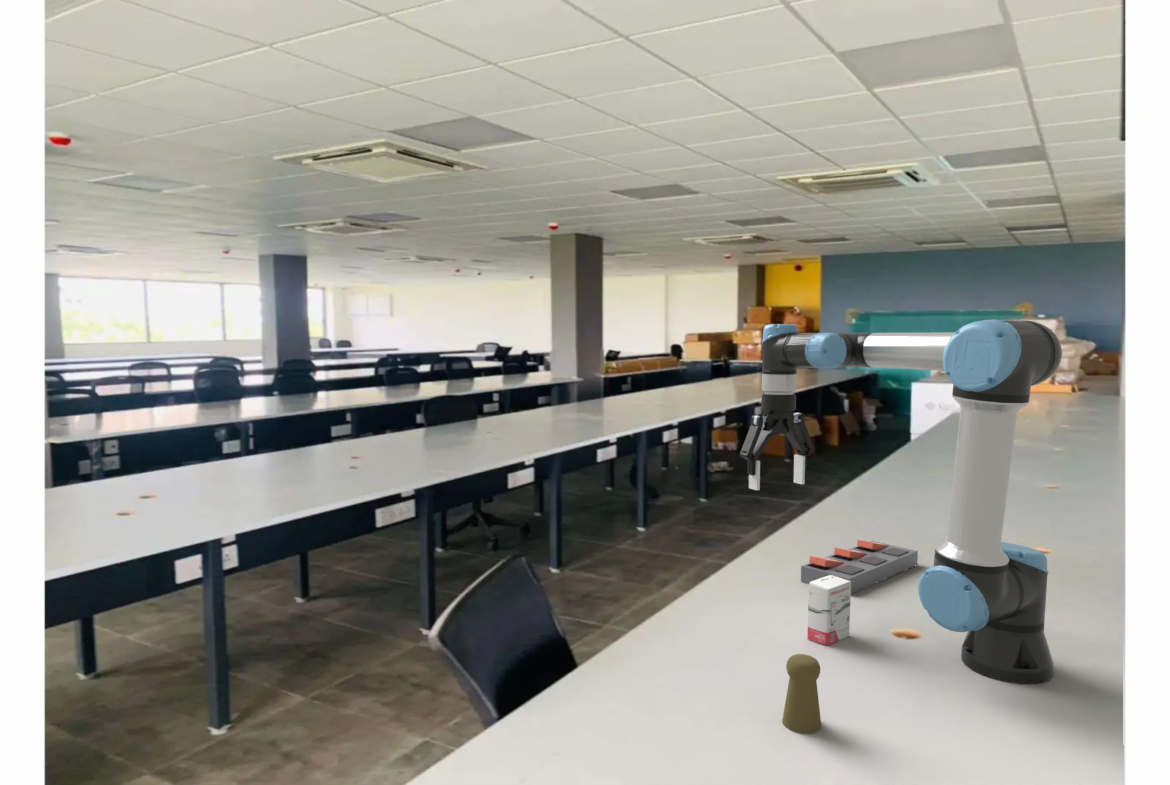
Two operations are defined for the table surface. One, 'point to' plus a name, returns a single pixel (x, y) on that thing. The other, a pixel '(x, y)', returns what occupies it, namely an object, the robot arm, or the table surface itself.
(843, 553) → the rocker
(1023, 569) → the robot arm
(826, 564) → the rocker
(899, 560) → the power strip
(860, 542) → the rocker
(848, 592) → the ink box
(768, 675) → the table surface
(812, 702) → the olive brown peg figure
